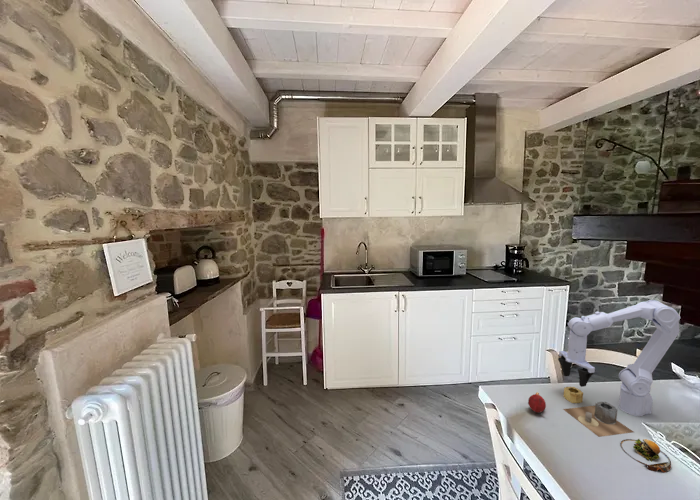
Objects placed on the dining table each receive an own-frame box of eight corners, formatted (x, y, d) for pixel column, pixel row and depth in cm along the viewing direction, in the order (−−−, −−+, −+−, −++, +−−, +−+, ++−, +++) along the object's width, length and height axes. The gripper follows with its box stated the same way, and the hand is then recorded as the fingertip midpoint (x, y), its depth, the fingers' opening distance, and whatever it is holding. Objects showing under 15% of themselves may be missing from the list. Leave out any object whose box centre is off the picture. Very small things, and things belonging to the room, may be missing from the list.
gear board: (594, 408, 123) (595, 398, 123) (634, 435, 109) (635, 424, 108) (562, 412, 121) (563, 401, 121) (598, 440, 107) (599, 428, 106)
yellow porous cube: (572, 397, 130) (573, 386, 130) (583, 405, 125) (584, 393, 125) (561, 398, 130) (562, 387, 129) (572, 406, 125) (573, 394, 124)
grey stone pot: (604, 413, 118) (605, 401, 118) (618, 422, 113) (619, 410, 112) (592, 415, 118) (593, 402, 117) (605, 424, 112) (606, 411, 112)
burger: (619, 438, 108) (621, 418, 107) (668, 455, 100) (671, 433, 99) (620, 460, 98) (622, 438, 97) (673, 480, 91) (677, 457, 90)
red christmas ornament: (547, 418, 118) (549, 398, 117) (530, 416, 119) (532, 396, 118) (541, 408, 124) (542, 389, 123) (525, 406, 125) (526, 387, 124)
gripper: (553, 341, 131) (551, 372, 132) (584, 357, 116) (581, 392, 118) (568, 340, 132) (566, 370, 133) (600, 356, 117) (597, 390, 119)
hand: (574, 380), depth 126 cm, fingers open, 7 cm apart
